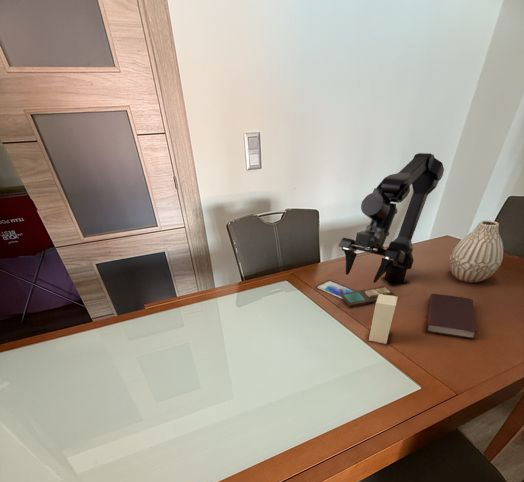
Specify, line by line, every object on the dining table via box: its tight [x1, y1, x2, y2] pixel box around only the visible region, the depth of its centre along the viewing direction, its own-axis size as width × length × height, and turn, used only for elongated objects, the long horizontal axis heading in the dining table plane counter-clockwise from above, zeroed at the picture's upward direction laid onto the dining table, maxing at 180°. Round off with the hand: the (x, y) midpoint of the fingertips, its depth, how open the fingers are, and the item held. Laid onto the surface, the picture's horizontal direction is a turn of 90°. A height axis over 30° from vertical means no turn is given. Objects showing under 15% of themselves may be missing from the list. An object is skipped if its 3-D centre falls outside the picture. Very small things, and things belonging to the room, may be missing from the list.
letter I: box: [368, 294, 399, 345], centre depth 87 cm, size 5×5×13 cm
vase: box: [448, 220, 505, 284], centre depth 108 cm, size 16×16×20 cm
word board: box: [340, 285, 395, 308], centre depth 108 cm, size 17×8×2 cm, turn 102°
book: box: [426, 293, 477, 339], centre depth 94 cm, size 12×19×3 cm, turn 155°
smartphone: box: [317, 280, 356, 300], centre depth 113 cm, size 7×1×15 cm
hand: (360, 278), depth 92 cm, fingers open, 9 cm apart
